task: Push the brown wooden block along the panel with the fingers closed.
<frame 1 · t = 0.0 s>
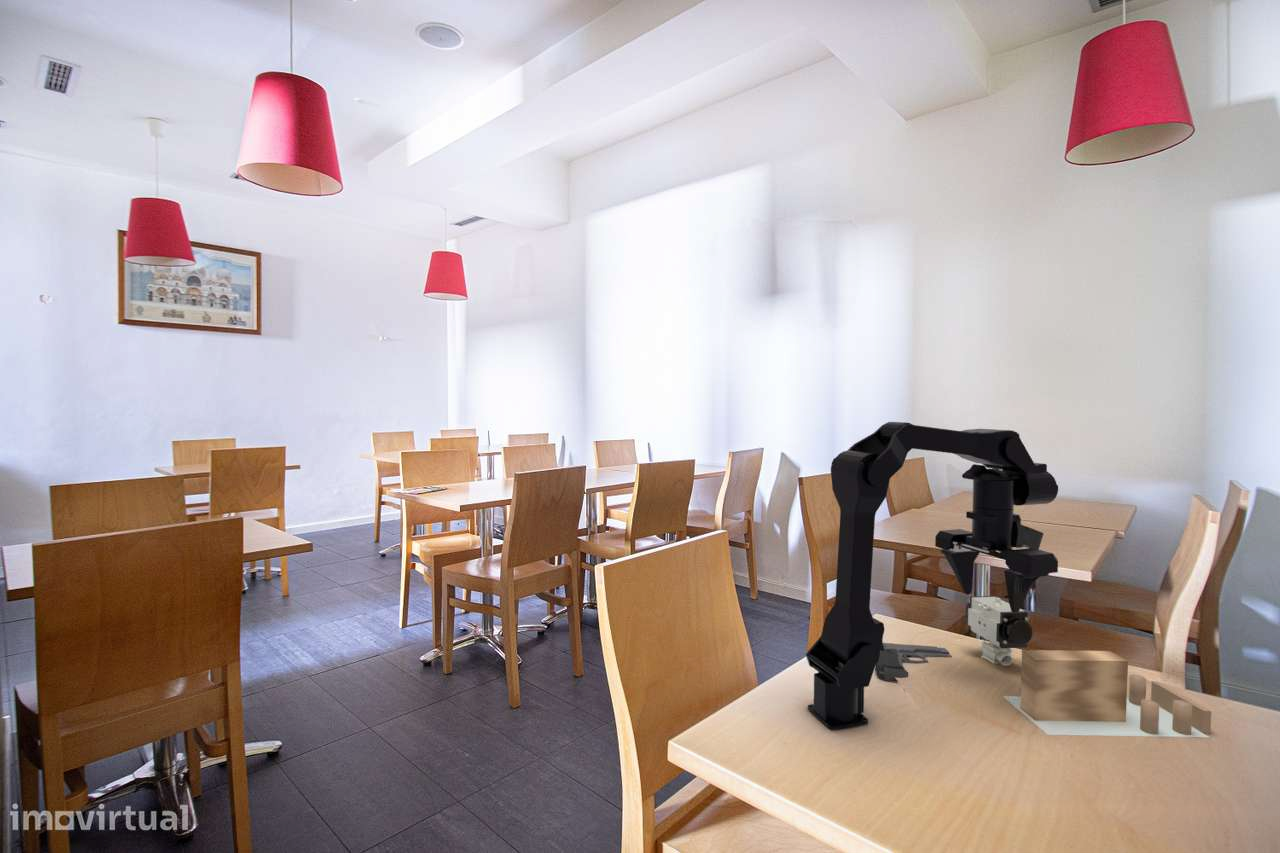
hand: (990, 602, 98), 15 cm above the table, tool pointing down, fingers open, 9 cm apart
panel: (1099, 720, 90), on the table
brown wooden block: (1071, 714, 90), point 1 cm above the table, touching panel
pneumatic valve: (993, 664, 109), on the table
handgun: (913, 670, 108), on the table
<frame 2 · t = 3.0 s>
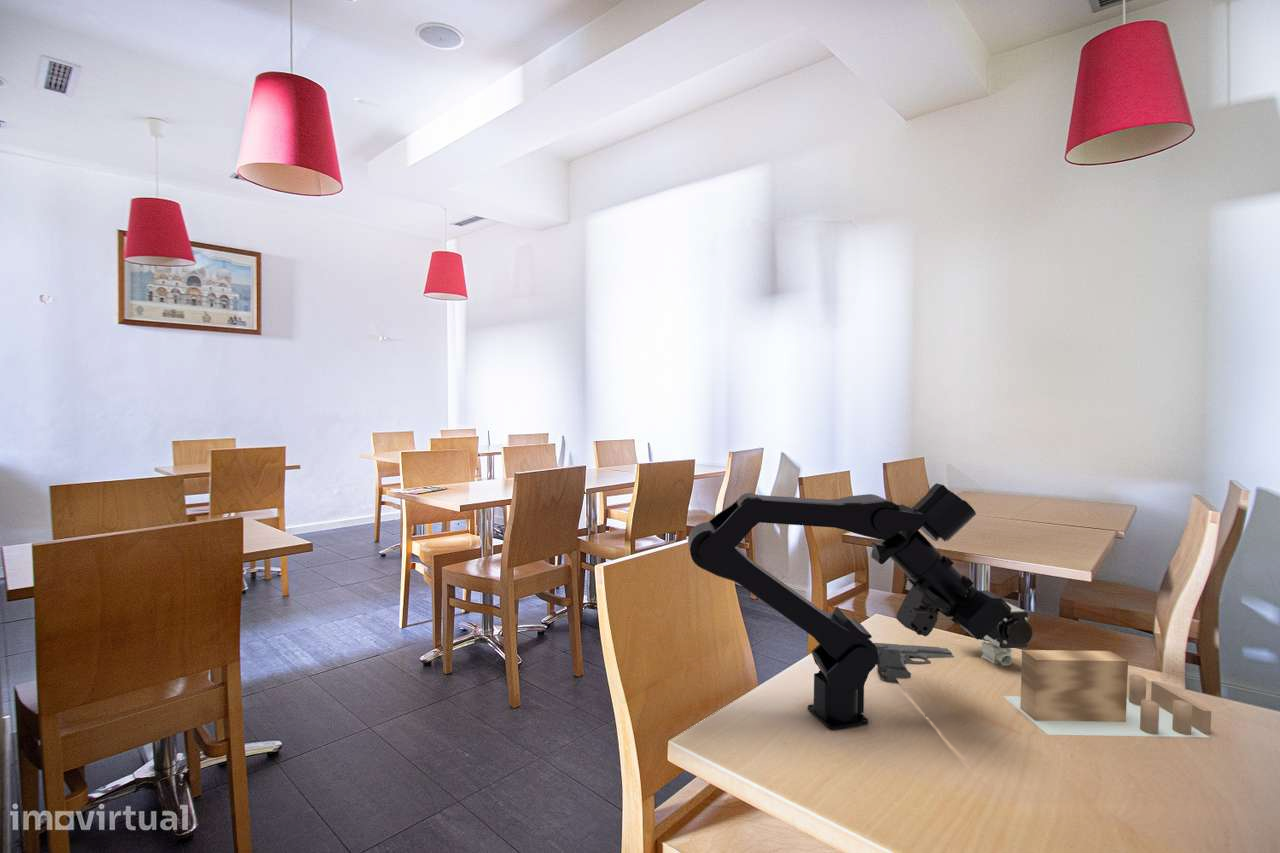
hand: (995, 637, 90), 12 cm above the table, tool tilted 45°, fingers closed
nothing on the table moved.
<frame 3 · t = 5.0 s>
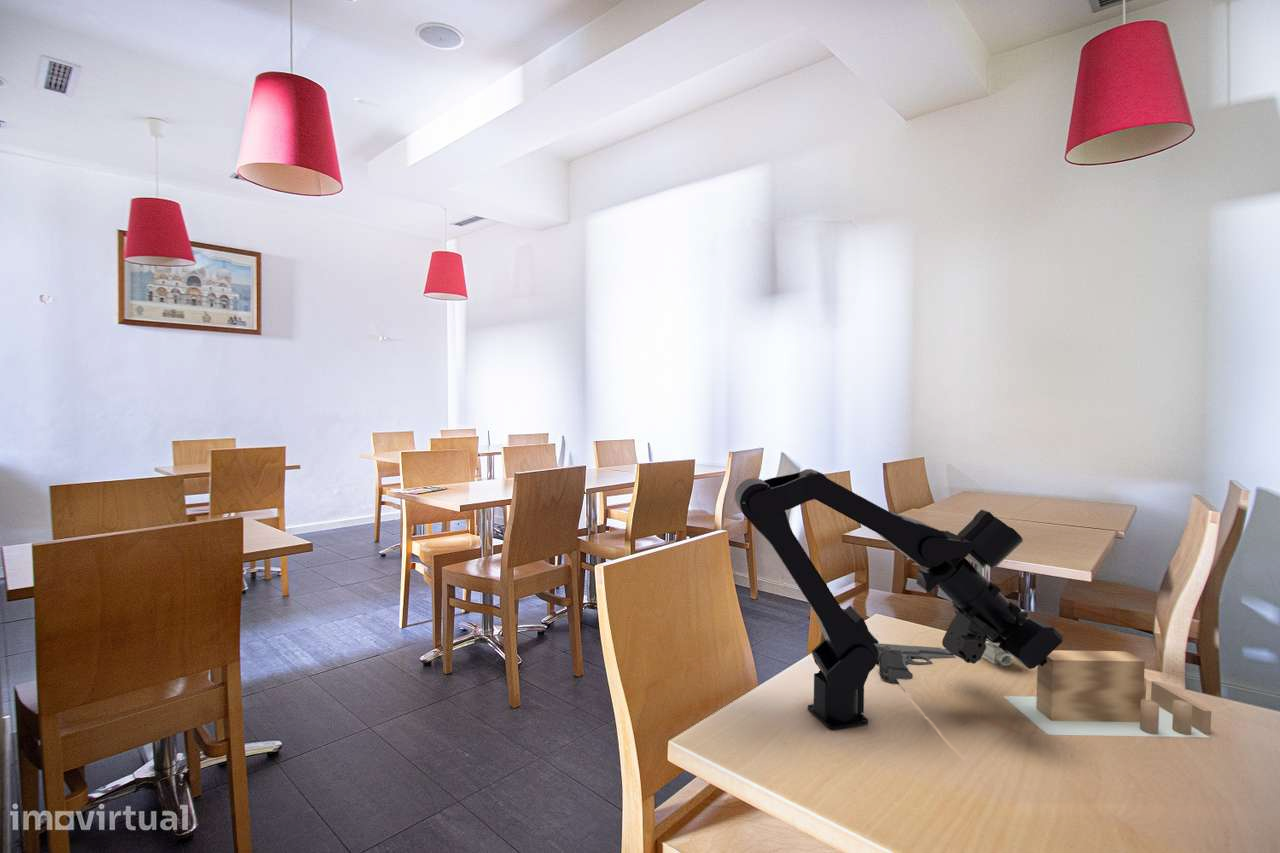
hand: (1043, 663, 90), 9 cm above the table, tool tilted 45°, fingers closed, pressing on brown wooden block
brown wooden block: (1088, 715, 90), point 1 cm above the table, touching gripper, panel
everything else where it was.
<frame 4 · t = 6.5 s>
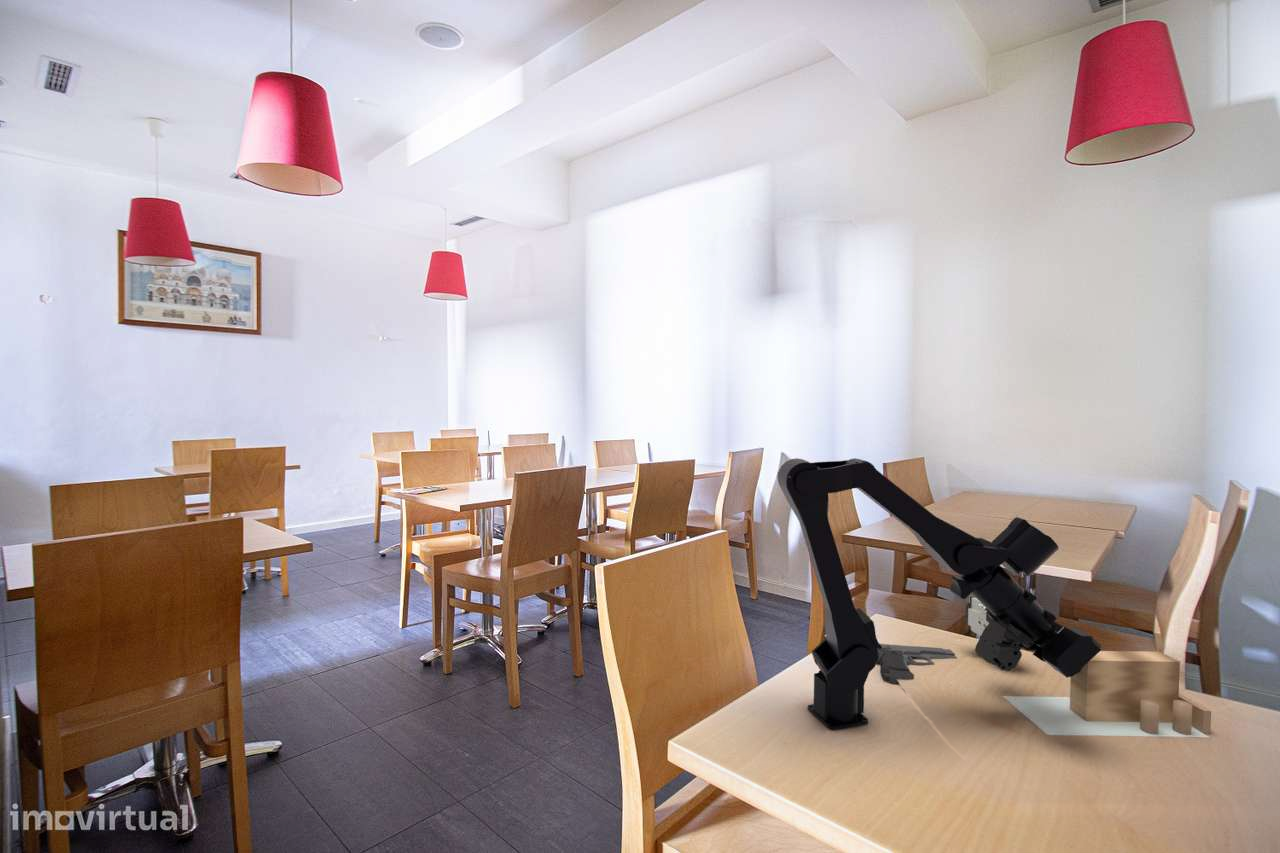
hand: (1077, 671, 90), 7 cm above the table, tool tilted 45°, fingers closed, pressing on brown wooden block
brown wooden block: (1122, 715, 90), point 1 cm above the table, touching gripper, panel
everything else where it was.
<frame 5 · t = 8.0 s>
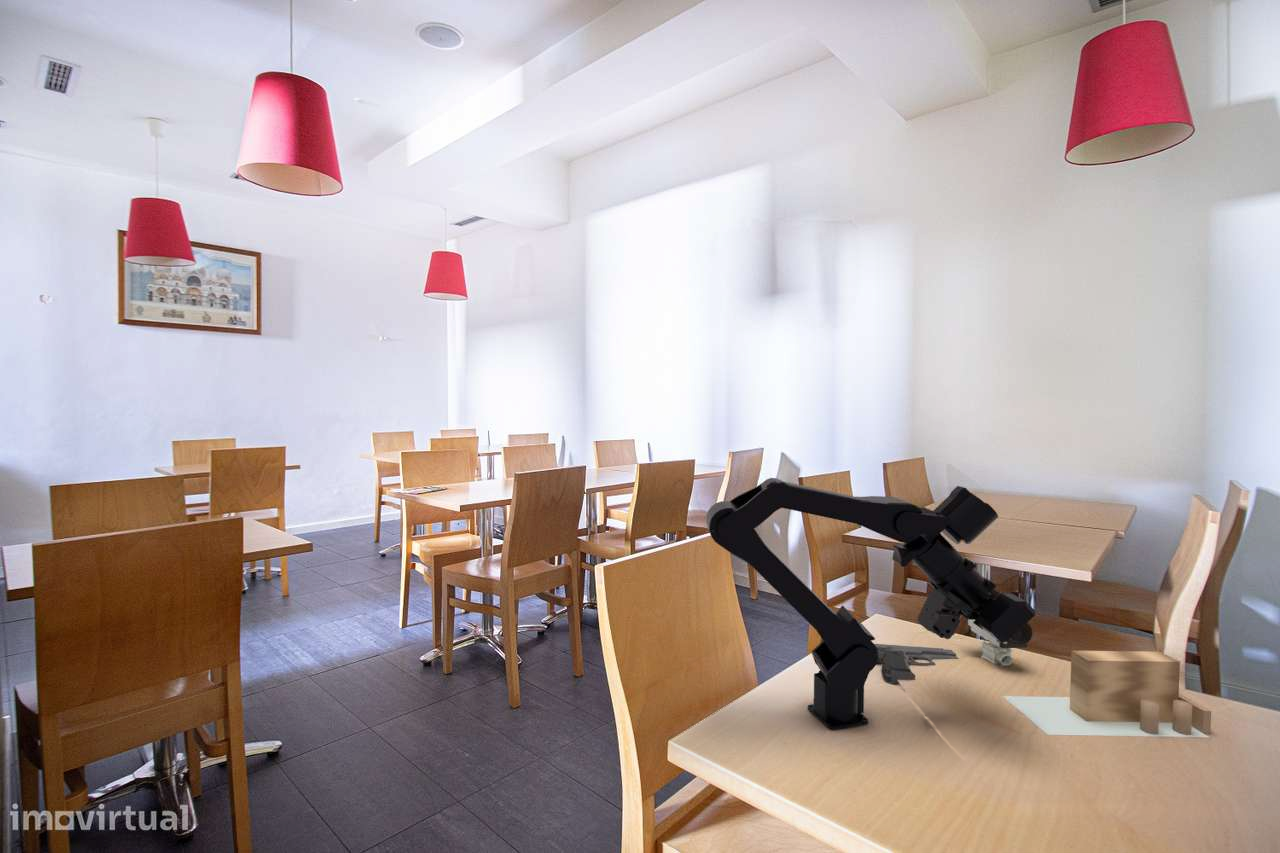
hand: (1017, 639, 90), 12 cm above the table, tool tilted 45°, fingers closed
brown wooden block: (1122, 715, 90), point 1 cm above the table, touching panel
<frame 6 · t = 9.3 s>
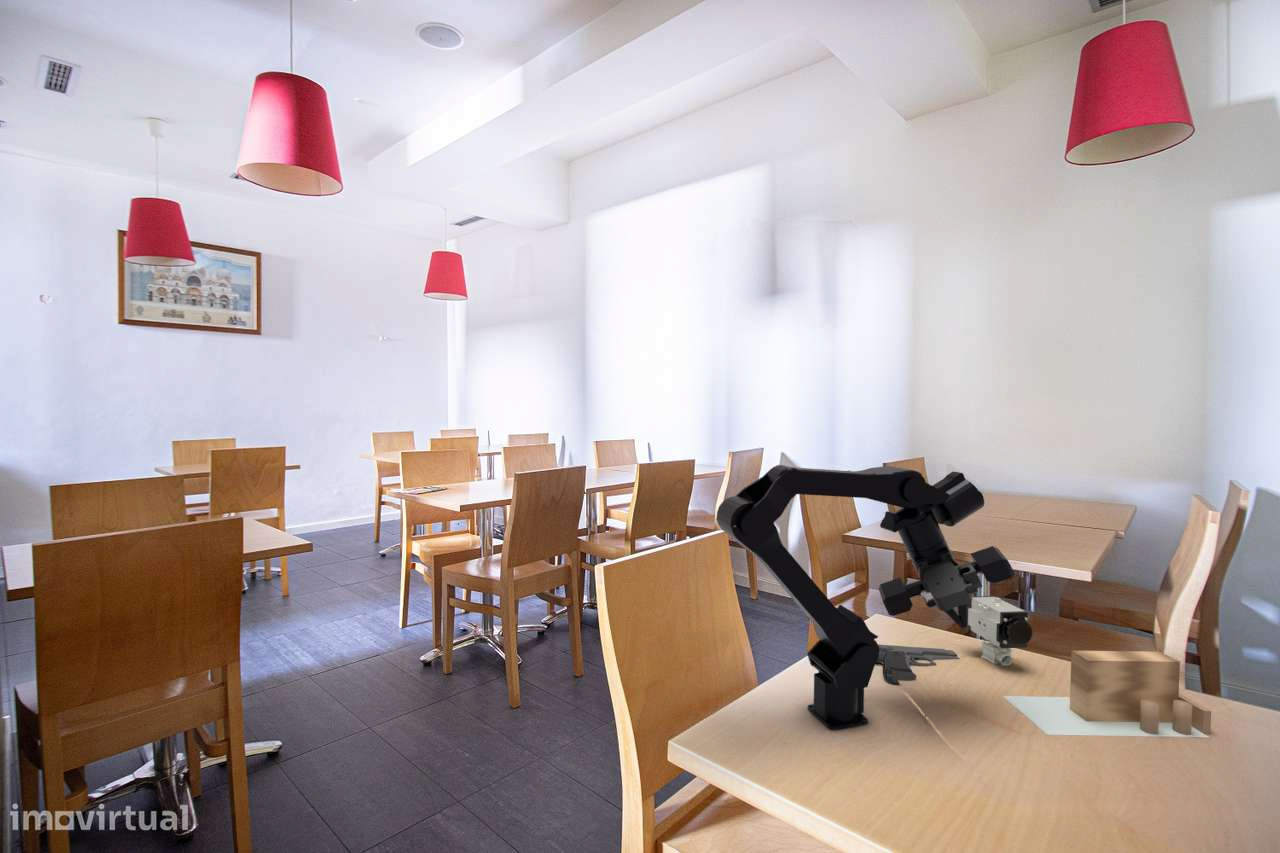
hand: (963, 626, 95), 12 cm above the table, tool tilted 30°, fingers closed
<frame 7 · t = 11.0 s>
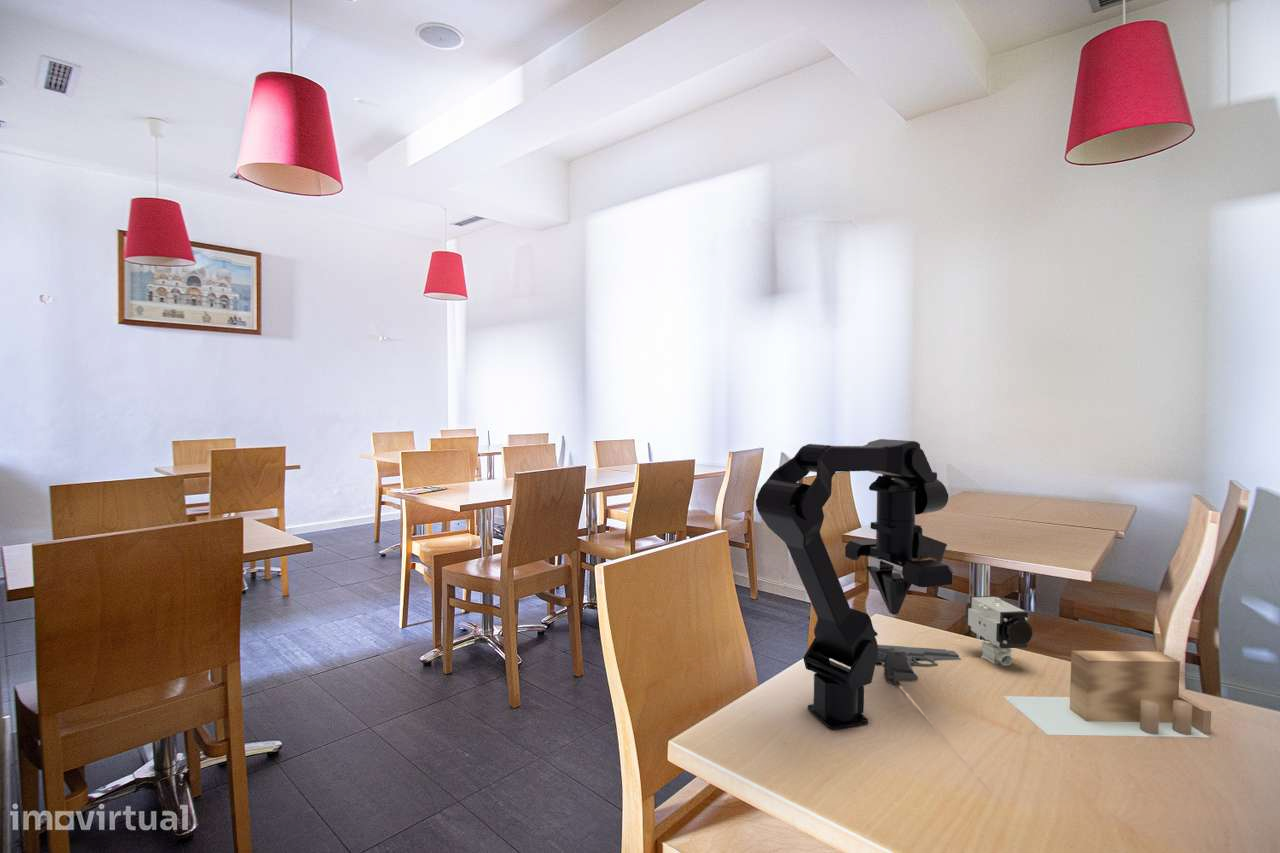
hand: (893, 613, 98), 13 cm above the table, tool pointing down, fingers closed
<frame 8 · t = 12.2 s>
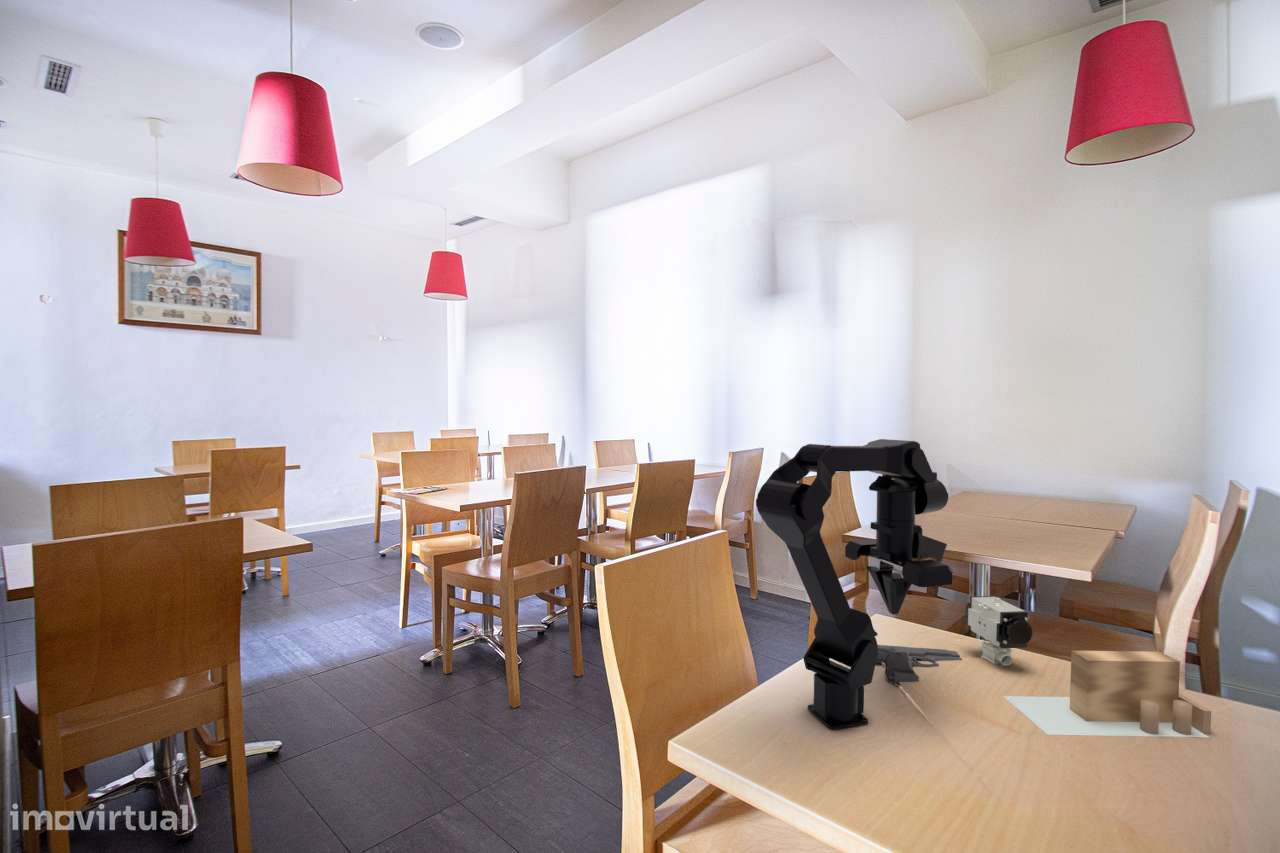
hand: (893, 613, 98), 13 cm above the table, tool pointing down, fingers closed
at the end: brown wooden block 0.3 cm from the target spot on the panel, point 0.8 cm above the panel's base; brown wooden block tilted 0°; brown wooden block moved 7.3 cm from its start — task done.
